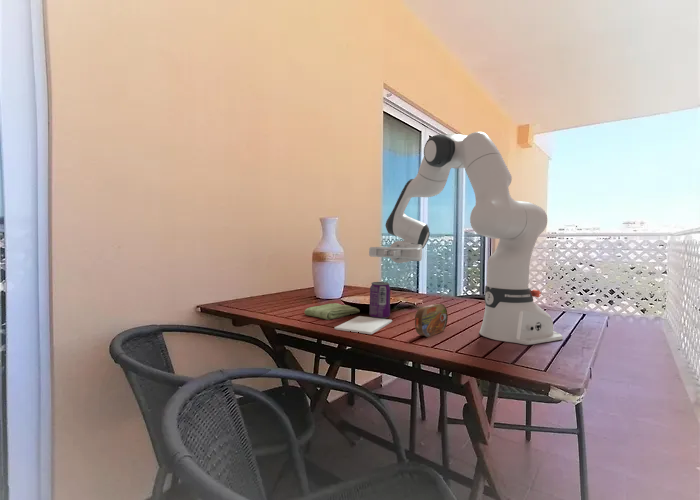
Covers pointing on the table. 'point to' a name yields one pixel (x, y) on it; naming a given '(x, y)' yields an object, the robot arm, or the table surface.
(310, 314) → the washcloth
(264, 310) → the table surface
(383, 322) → the white rectangular slab
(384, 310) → the beverage can
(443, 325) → the tin
